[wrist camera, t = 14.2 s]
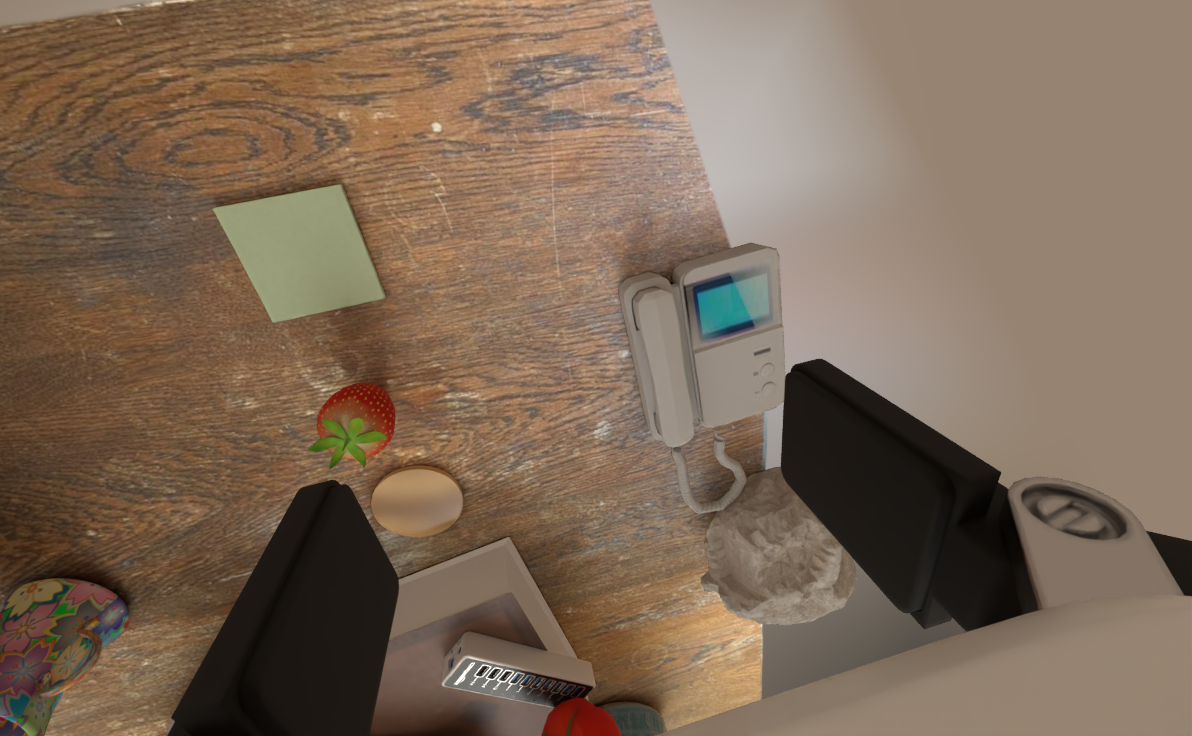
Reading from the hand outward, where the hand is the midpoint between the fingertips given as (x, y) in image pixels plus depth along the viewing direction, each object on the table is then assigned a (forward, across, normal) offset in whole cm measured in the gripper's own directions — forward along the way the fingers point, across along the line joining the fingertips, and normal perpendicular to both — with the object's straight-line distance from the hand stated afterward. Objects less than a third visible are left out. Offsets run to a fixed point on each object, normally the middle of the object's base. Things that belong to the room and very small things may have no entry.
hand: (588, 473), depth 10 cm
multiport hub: (+21, +9, +38) cm, 44 cm away
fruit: (+28, +14, +10) cm, 33 cm away
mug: (+28, +43, +23) cm, 56 cm away
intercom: (+25, -15, +29) cm, 41 cm away
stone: (+16, -15, +38) cm, 44 cm away
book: (+27, +18, +44) cm, 55 cm away
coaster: (+28, +14, +21) cm, 38 cm away
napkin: (+28, +14, -2) cm, 31 cm away
